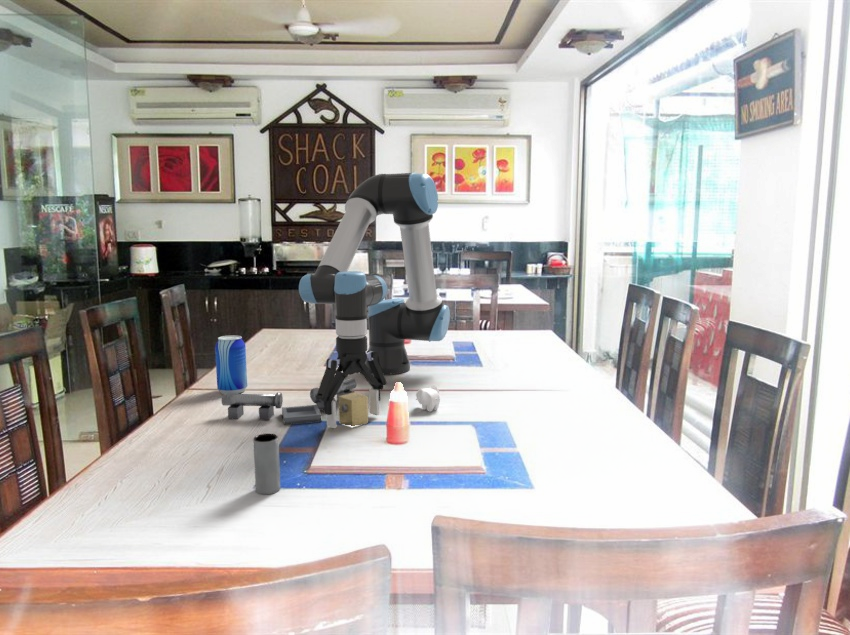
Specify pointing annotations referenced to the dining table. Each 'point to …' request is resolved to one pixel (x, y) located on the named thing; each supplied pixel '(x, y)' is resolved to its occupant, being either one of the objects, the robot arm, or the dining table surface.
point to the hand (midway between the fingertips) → (353, 420)
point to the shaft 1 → (252, 404)
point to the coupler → (353, 409)
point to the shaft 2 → (343, 390)
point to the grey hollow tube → (266, 463)
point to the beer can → (231, 364)
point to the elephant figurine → (428, 398)
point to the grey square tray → (301, 414)
